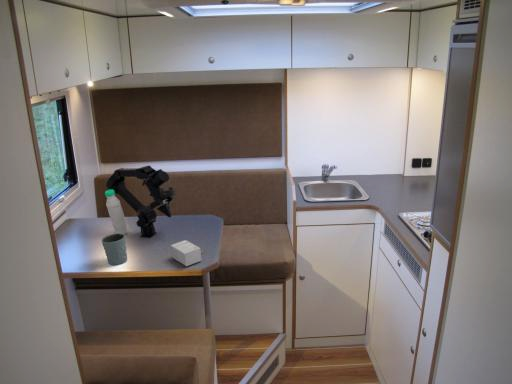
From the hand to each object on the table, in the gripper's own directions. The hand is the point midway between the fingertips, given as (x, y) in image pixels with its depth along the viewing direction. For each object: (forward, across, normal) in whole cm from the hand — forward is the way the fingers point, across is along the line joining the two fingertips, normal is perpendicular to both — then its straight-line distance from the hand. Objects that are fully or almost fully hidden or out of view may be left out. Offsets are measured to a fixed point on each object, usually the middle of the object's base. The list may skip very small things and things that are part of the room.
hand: (170, 217), depth 215 cm
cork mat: (+21, -15, -6) cm, 27 cm away
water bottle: (-6, +11, +33) cm, 35 cm away
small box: (+15, -15, -2) cm, 21 cm away
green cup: (+6, -21, +25) cm, 33 cm away
